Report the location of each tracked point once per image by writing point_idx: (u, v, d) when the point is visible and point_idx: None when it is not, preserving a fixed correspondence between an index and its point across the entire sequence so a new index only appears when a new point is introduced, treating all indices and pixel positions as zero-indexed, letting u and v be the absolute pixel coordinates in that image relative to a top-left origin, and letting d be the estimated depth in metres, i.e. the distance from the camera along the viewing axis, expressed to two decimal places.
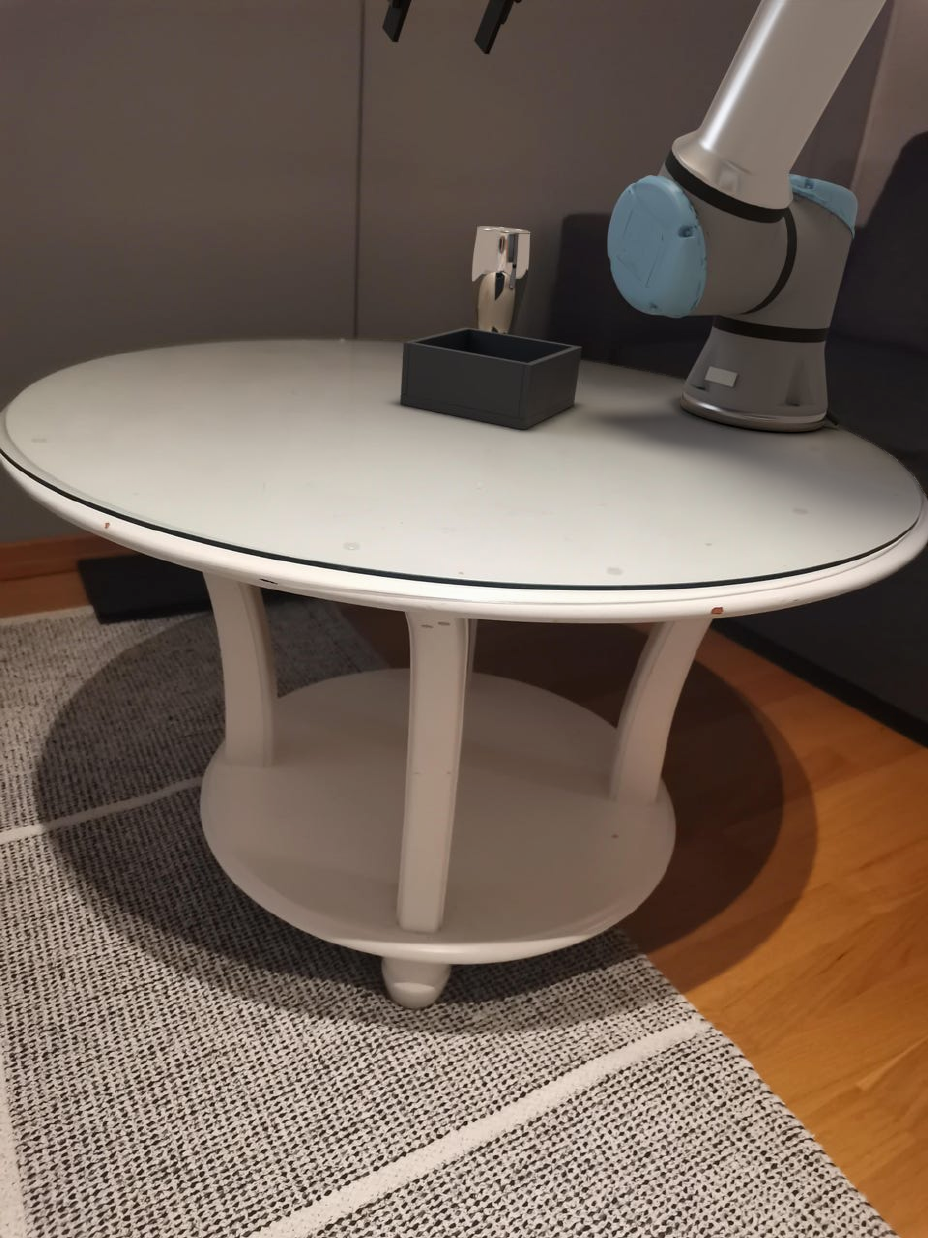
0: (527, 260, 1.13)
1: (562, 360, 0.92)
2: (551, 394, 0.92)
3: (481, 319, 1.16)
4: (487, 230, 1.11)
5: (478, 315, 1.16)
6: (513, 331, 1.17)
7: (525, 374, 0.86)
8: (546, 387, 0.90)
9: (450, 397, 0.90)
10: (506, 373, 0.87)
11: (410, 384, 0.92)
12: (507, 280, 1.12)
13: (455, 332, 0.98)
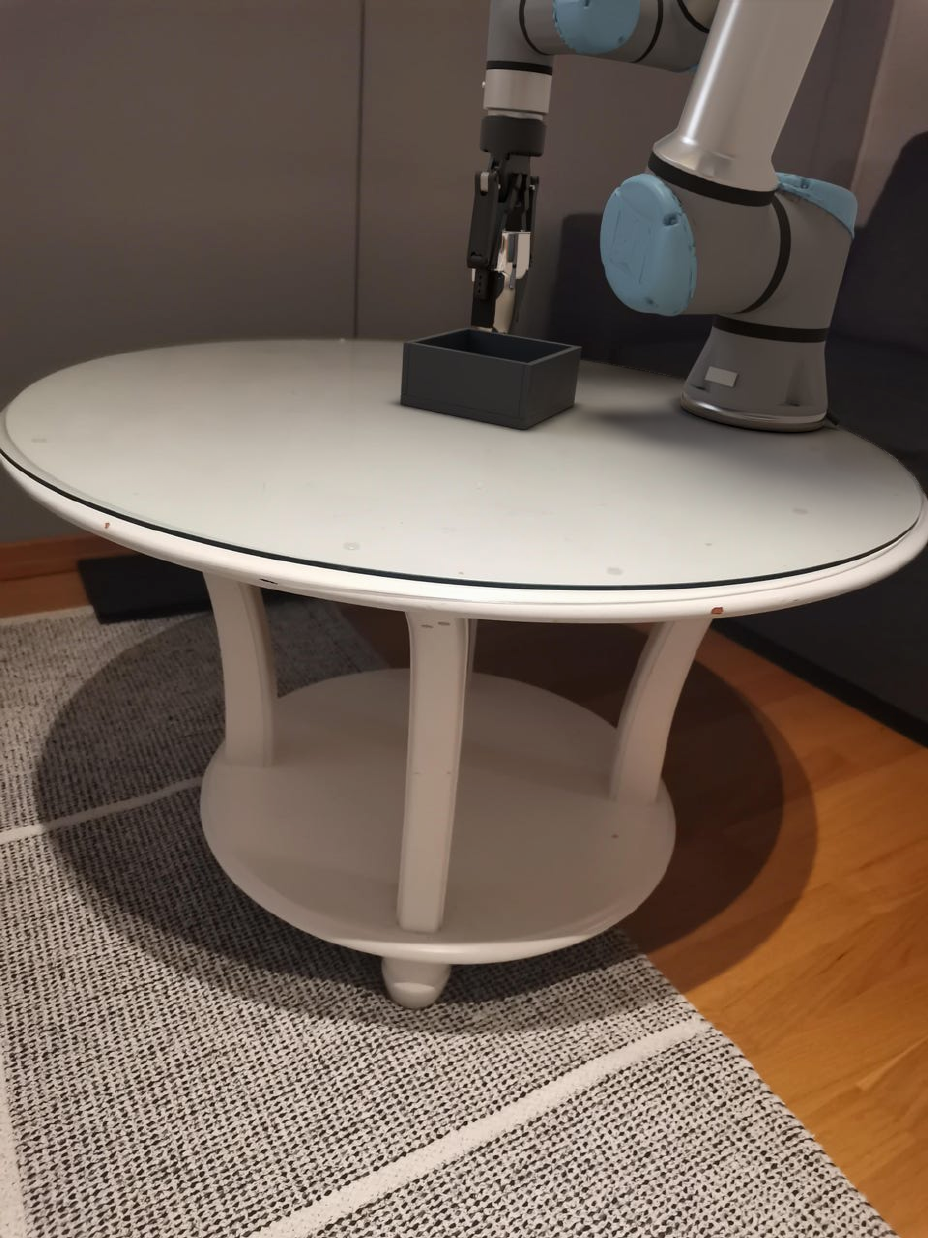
0: (527, 260, 1.13)
1: (562, 360, 0.92)
2: (551, 394, 0.92)
3: None
4: None
5: None
6: (513, 331, 1.17)
7: (525, 374, 0.86)
8: (546, 387, 0.90)
9: (450, 397, 0.90)
10: (506, 373, 0.87)
11: (410, 384, 0.92)
12: (507, 280, 1.12)
13: (455, 332, 0.98)
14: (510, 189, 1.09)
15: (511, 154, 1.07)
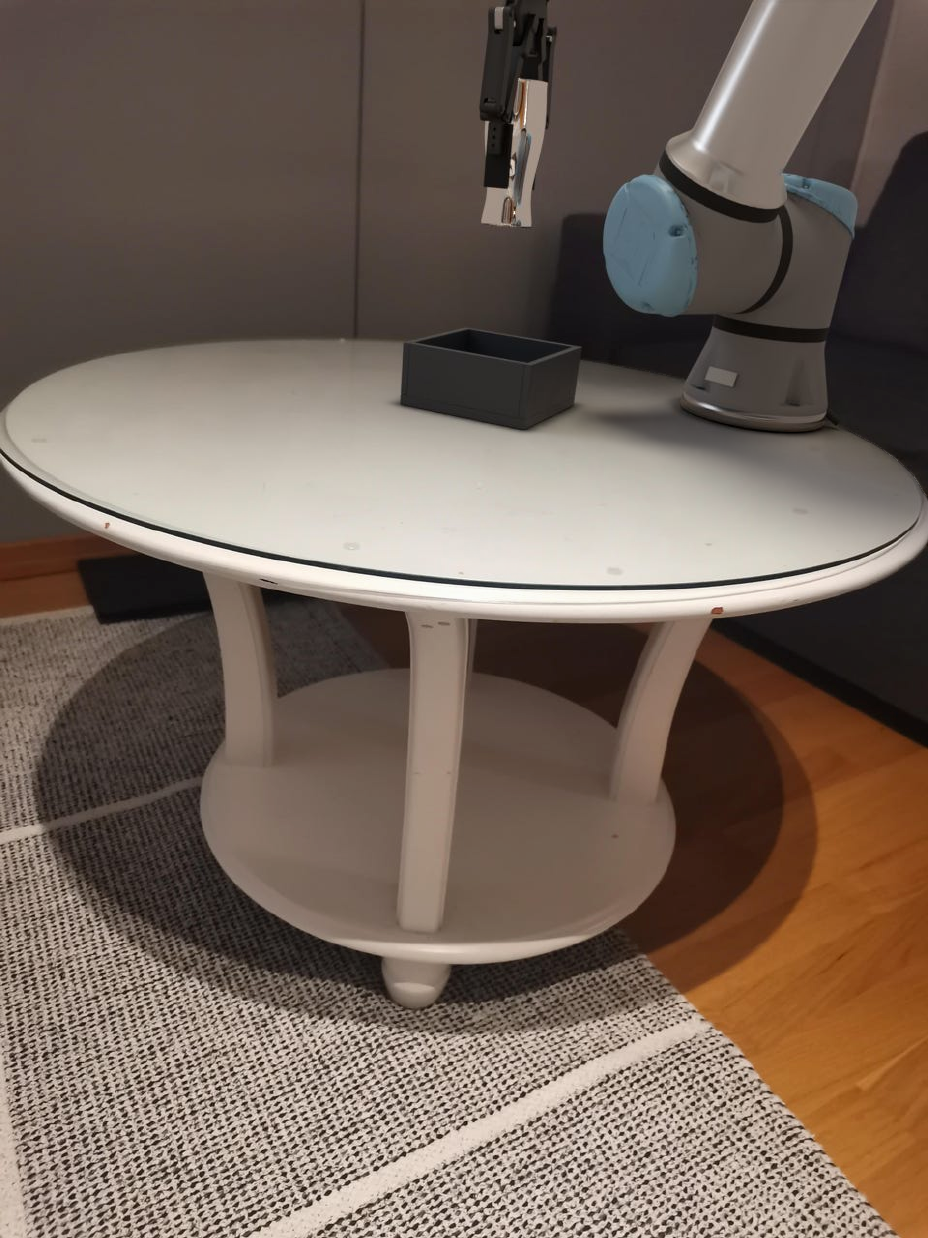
0: (544, 114, 1.05)
1: (562, 360, 0.92)
2: (551, 394, 0.92)
3: None
4: None
5: None
6: (529, 196, 1.09)
7: (525, 374, 0.86)
8: (546, 387, 0.90)
9: (450, 397, 0.90)
10: (506, 373, 0.87)
11: (410, 384, 0.92)
12: (523, 134, 1.04)
13: (455, 332, 0.98)
14: (526, 31, 1.01)
15: None
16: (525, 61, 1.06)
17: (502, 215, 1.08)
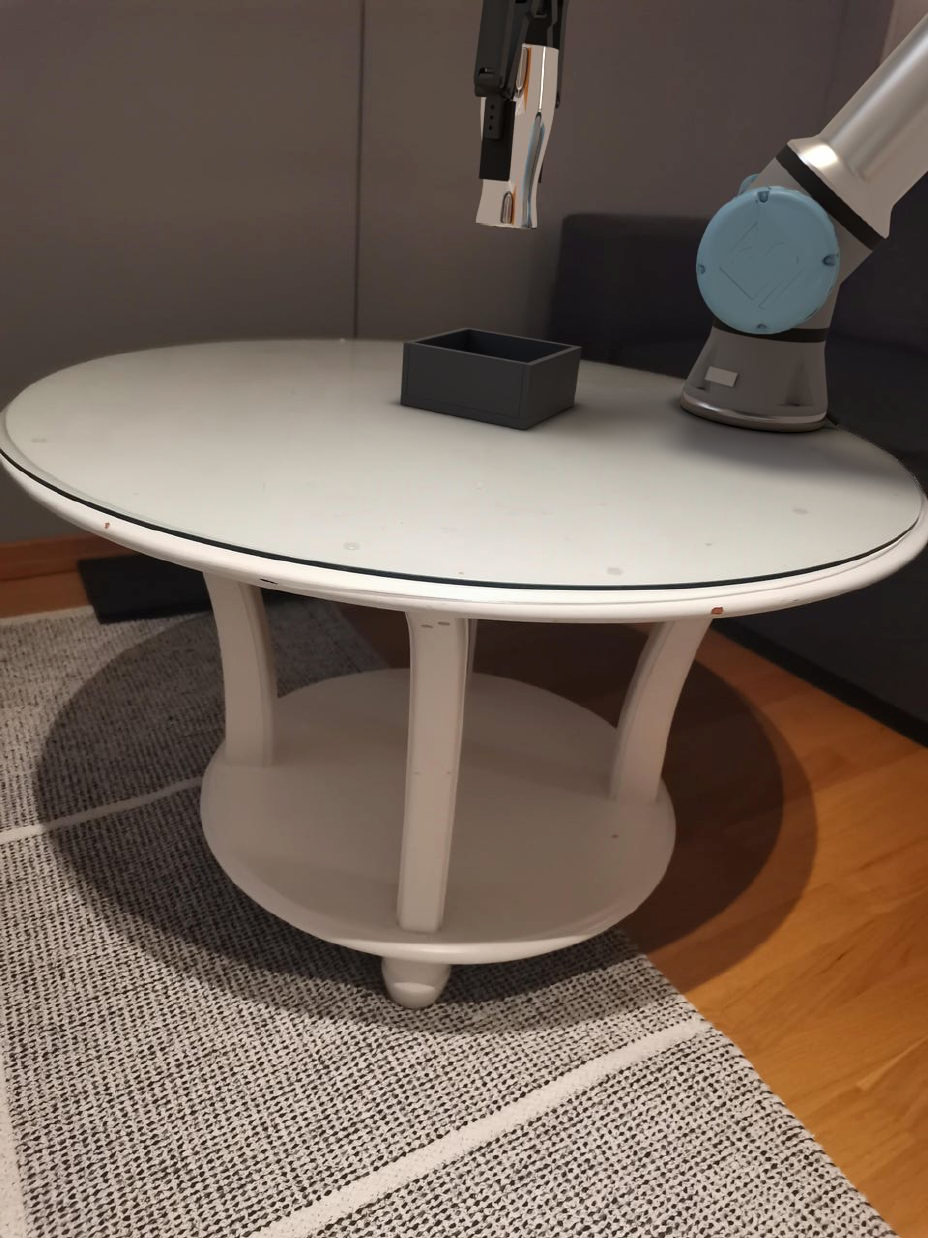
0: (554, 89, 0.85)
1: (562, 360, 0.92)
2: (551, 394, 0.92)
3: None
4: None
5: None
6: (534, 190, 0.89)
7: (525, 374, 0.86)
8: (546, 387, 0.90)
9: (450, 397, 0.90)
10: (506, 373, 0.87)
11: (410, 384, 0.92)
12: (527, 114, 0.84)
13: (455, 332, 0.98)
14: None
15: None
16: (531, 24, 0.86)
17: (501, 213, 0.89)
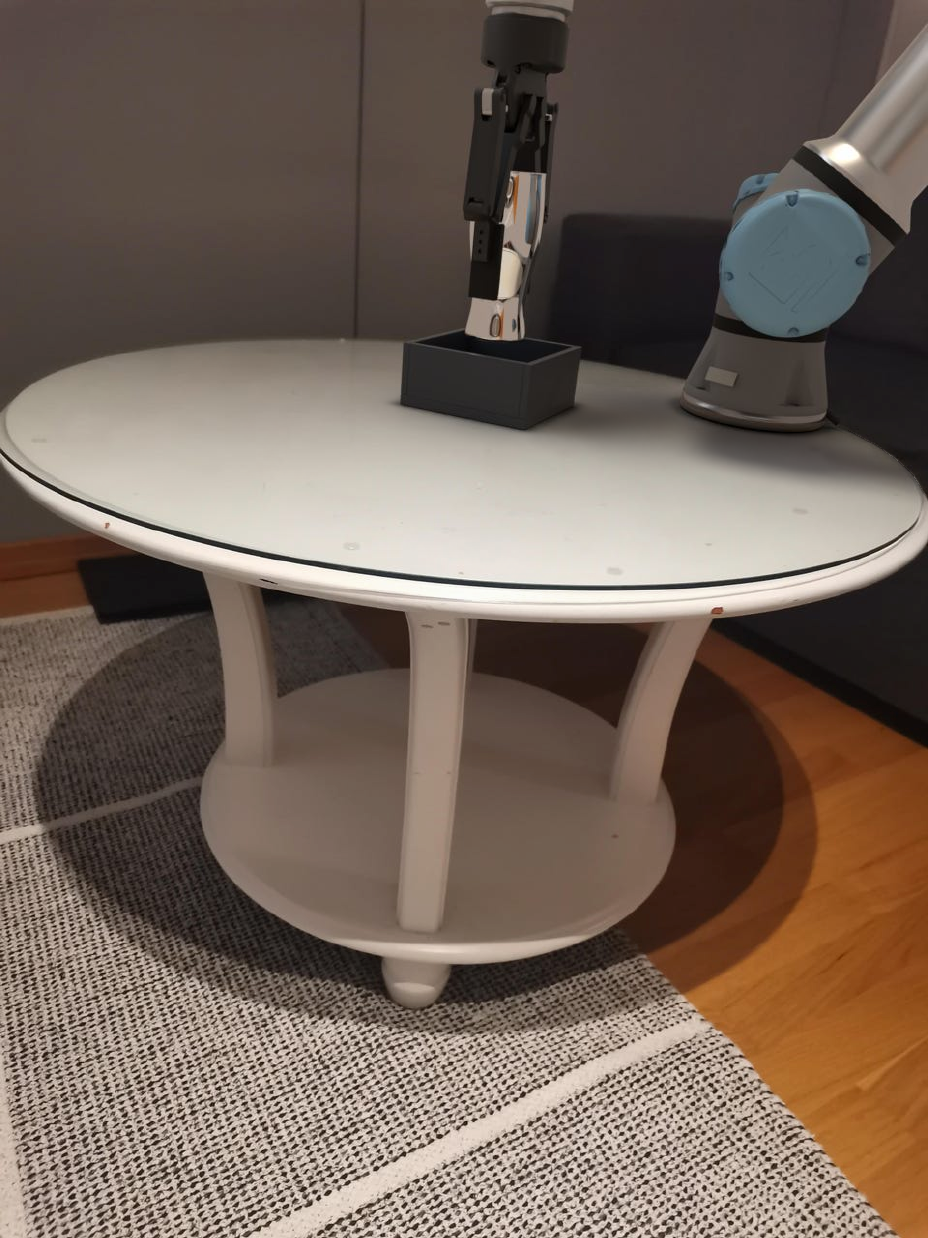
0: (542, 211, 0.87)
1: (562, 360, 0.92)
2: (551, 394, 0.92)
3: None
4: None
5: None
6: (523, 305, 0.91)
7: (525, 374, 0.86)
8: (546, 387, 0.90)
9: (450, 397, 0.90)
10: (506, 373, 0.87)
11: (410, 384, 0.92)
12: (516, 237, 0.86)
13: (455, 332, 0.98)
14: (521, 114, 0.82)
15: (522, 66, 0.80)
16: None
17: (490, 329, 0.90)
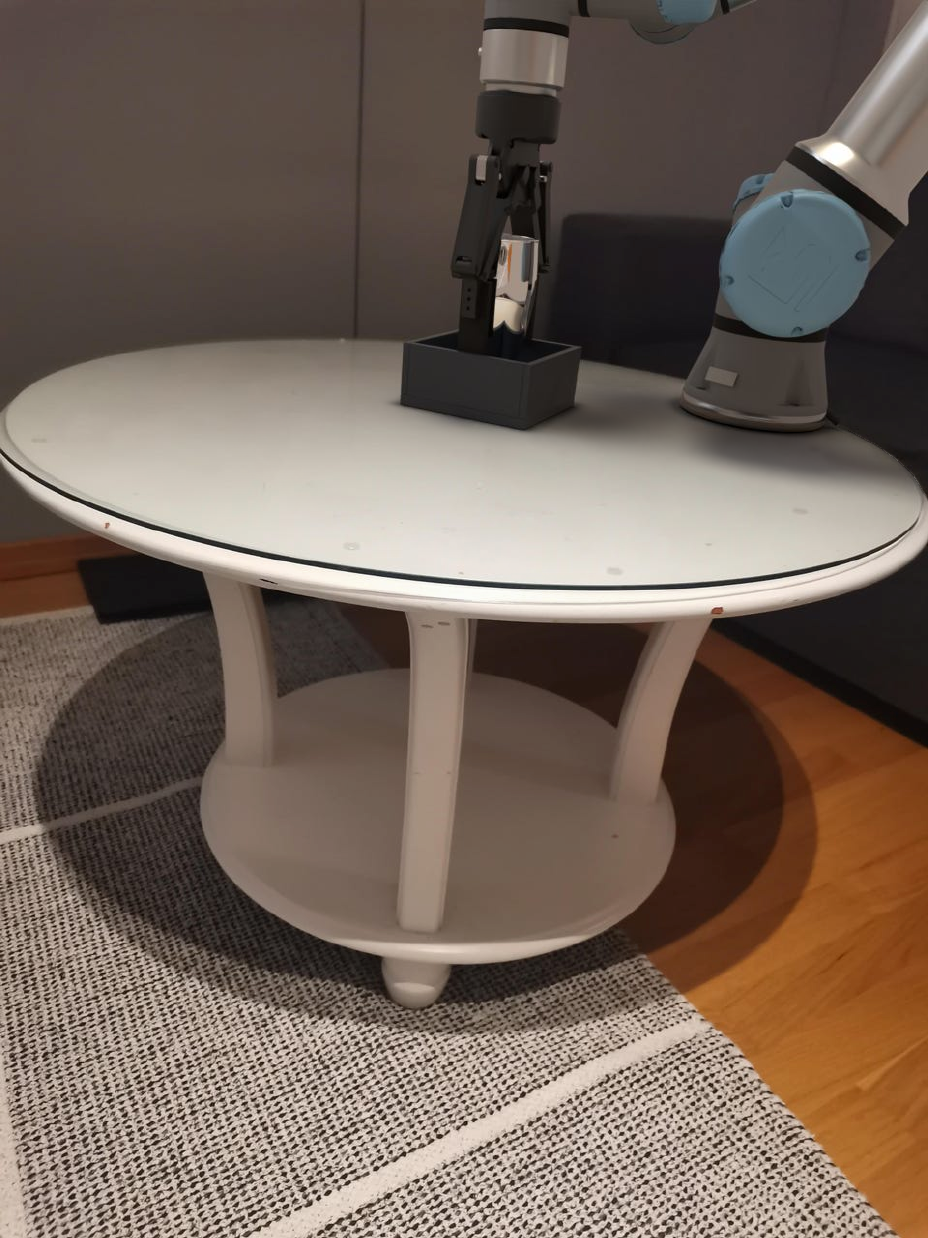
0: (535, 276, 0.89)
1: (562, 360, 0.92)
2: (551, 394, 0.92)
3: None
4: None
5: None
6: None
7: (525, 374, 0.86)
8: (546, 387, 0.90)
9: (450, 397, 0.90)
10: (506, 373, 0.87)
11: (410, 384, 0.92)
12: (509, 301, 0.88)
13: (455, 332, 0.98)
14: (515, 186, 0.84)
15: (516, 140, 0.83)
16: (517, 210, 0.90)
17: None
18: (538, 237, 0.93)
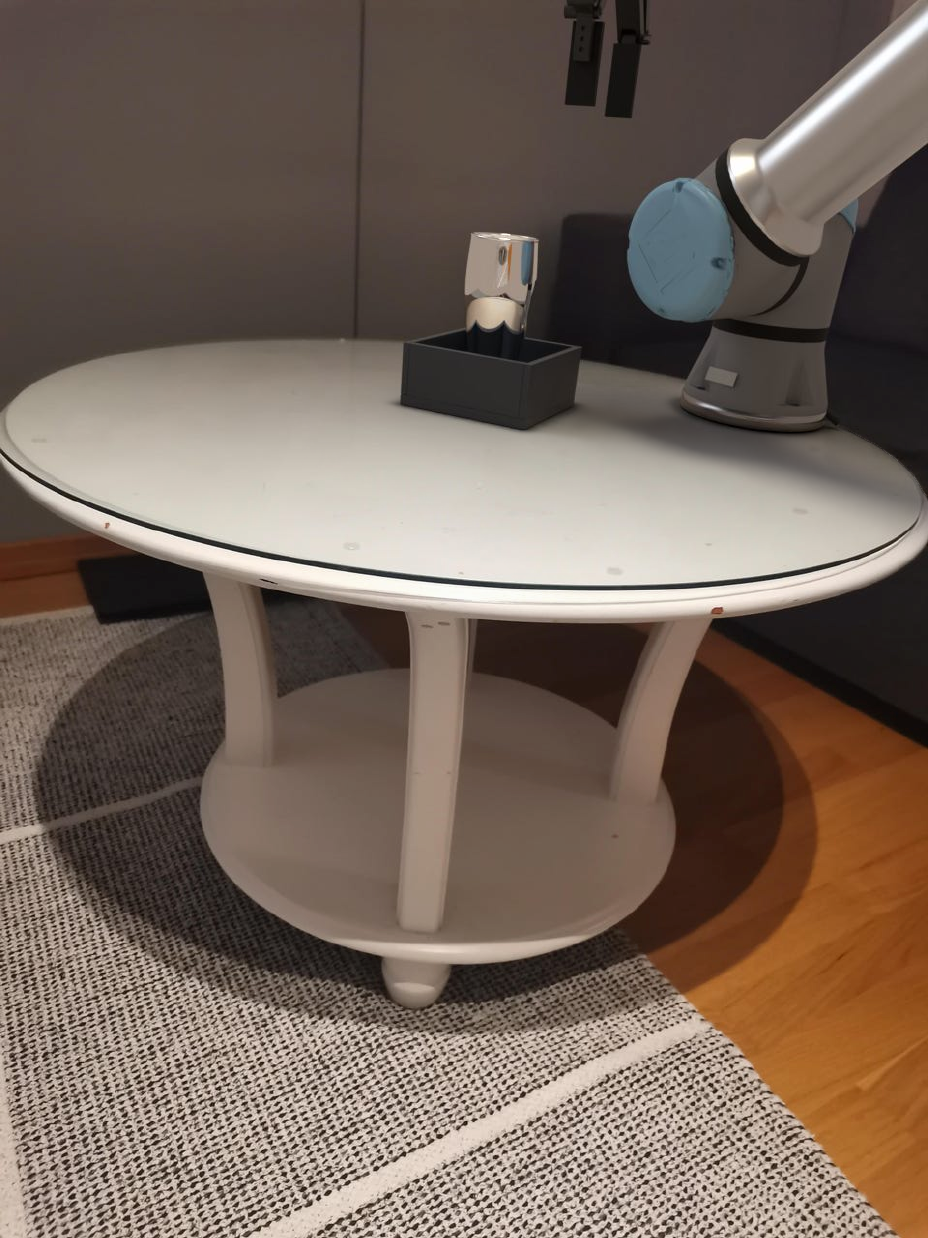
0: (534, 276, 0.89)
1: (562, 360, 0.92)
2: (551, 394, 0.92)
3: (476, 349, 0.92)
4: (484, 238, 0.87)
5: (472, 345, 0.92)
6: None
7: (525, 374, 0.86)
8: (546, 387, 0.90)
9: (450, 397, 0.90)
10: (506, 373, 0.87)
11: (410, 384, 0.92)
12: (509, 301, 0.88)
13: (455, 332, 0.98)
14: None
15: None
16: None
17: None
18: (641, 3, 0.92)
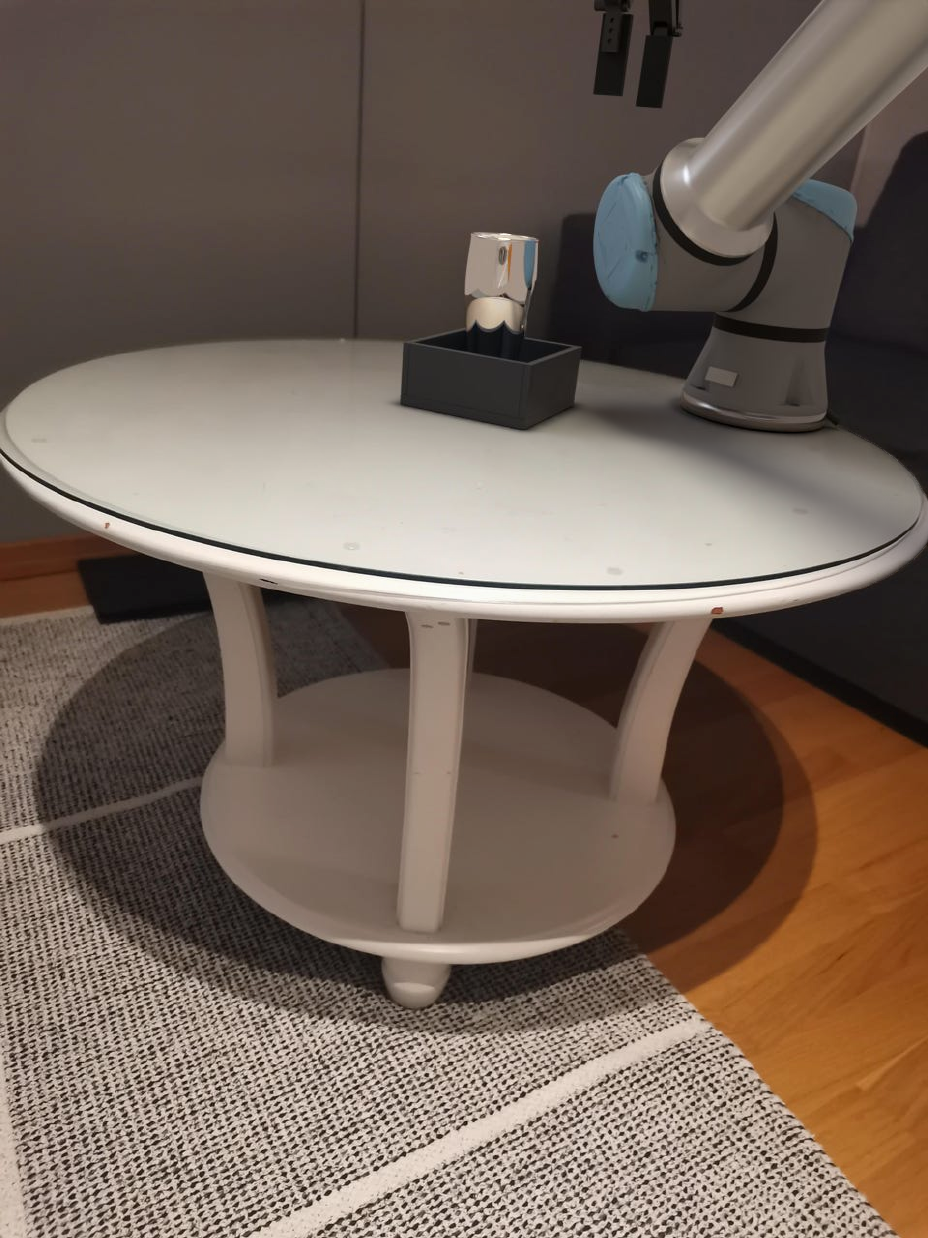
0: (534, 276, 0.89)
1: (562, 360, 0.92)
2: (551, 394, 0.92)
3: (476, 349, 0.92)
4: (483, 238, 0.87)
5: (472, 345, 0.92)
6: None
7: (525, 374, 0.86)
8: (546, 387, 0.90)
9: (450, 397, 0.90)
10: (506, 373, 0.87)
11: (410, 384, 0.92)
12: (509, 301, 0.88)
13: (455, 332, 0.98)
14: None
15: None
16: None
17: None
18: None
